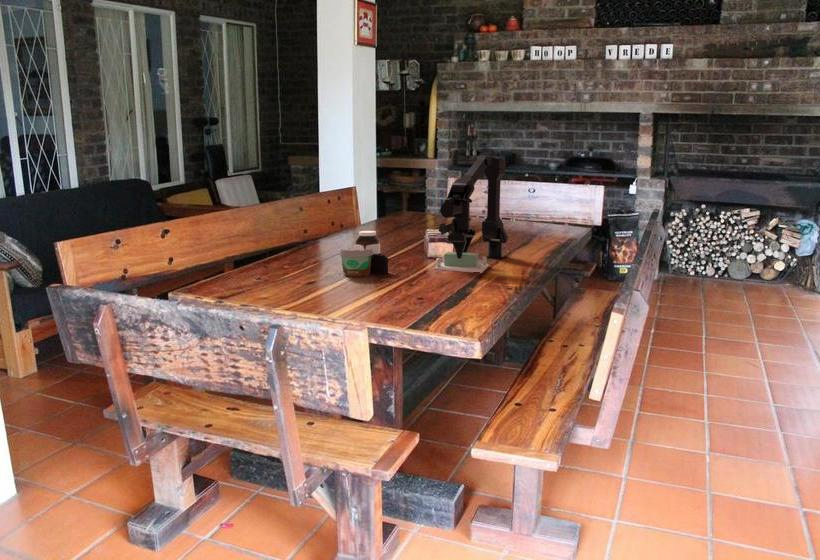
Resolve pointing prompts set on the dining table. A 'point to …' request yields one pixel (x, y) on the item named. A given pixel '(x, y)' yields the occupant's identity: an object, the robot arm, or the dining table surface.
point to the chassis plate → (480, 267)
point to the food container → (356, 263)
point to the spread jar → (367, 242)
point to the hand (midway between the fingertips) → (461, 257)
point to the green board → (461, 259)
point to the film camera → (379, 264)
